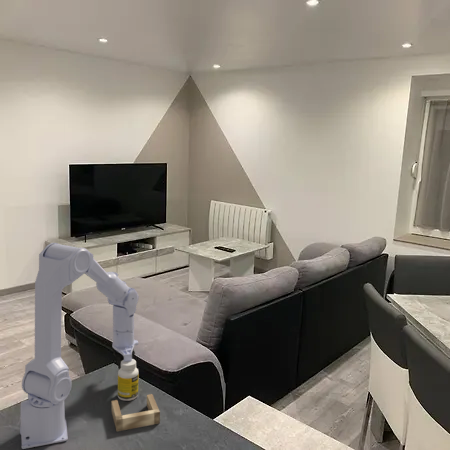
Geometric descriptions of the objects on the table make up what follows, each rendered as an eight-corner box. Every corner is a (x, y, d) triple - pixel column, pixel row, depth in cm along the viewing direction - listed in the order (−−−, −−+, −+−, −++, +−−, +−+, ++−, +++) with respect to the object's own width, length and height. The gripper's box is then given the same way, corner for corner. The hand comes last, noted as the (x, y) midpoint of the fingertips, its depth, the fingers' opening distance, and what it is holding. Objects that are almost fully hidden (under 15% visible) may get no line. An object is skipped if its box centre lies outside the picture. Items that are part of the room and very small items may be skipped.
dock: (116, 431, 106) (116, 420, 106) (111, 411, 114) (111, 400, 113) (159, 423, 110) (159, 412, 109) (152, 404, 118) (152, 393, 117)
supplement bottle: (133, 402, 118) (133, 368, 116) (114, 399, 119) (114, 365, 117) (141, 392, 123) (141, 358, 122) (122, 389, 124) (122, 355, 123)
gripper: (143, 337, 120) (143, 384, 122) (133, 317, 133) (133, 359, 136) (116, 340, 117) (116, 388, 120) (108, 319, 131) (109, 363, 133)
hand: (123, 373), depth 128 cm, fingers closed
